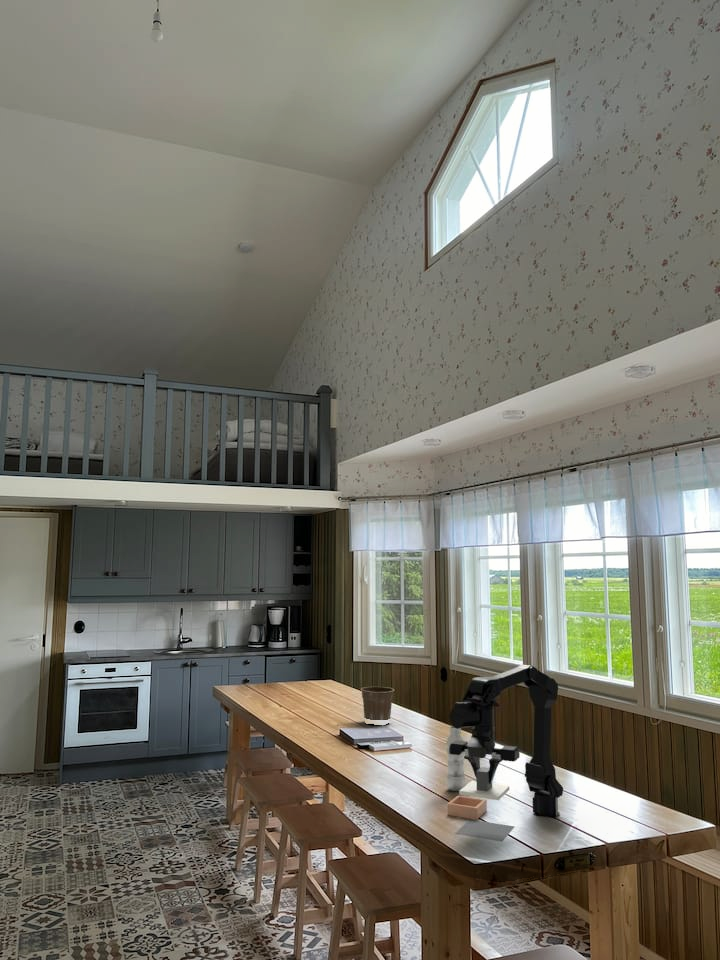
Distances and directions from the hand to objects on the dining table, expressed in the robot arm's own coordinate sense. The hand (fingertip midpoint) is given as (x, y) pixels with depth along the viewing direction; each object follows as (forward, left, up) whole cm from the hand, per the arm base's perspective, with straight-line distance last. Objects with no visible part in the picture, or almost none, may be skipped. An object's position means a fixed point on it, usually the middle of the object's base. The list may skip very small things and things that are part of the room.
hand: (484, 783), depth 200 cm
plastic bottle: (+20, -34, -13) cm, 42 cm away
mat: (0, 0, -13) cm, 13 cm away
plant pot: (+89, -122, -13) cm, 151 cm away
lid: (0, 0, -2) cm, 2 cm away
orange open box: (+9, -12, -13) cm, 20 cm away
